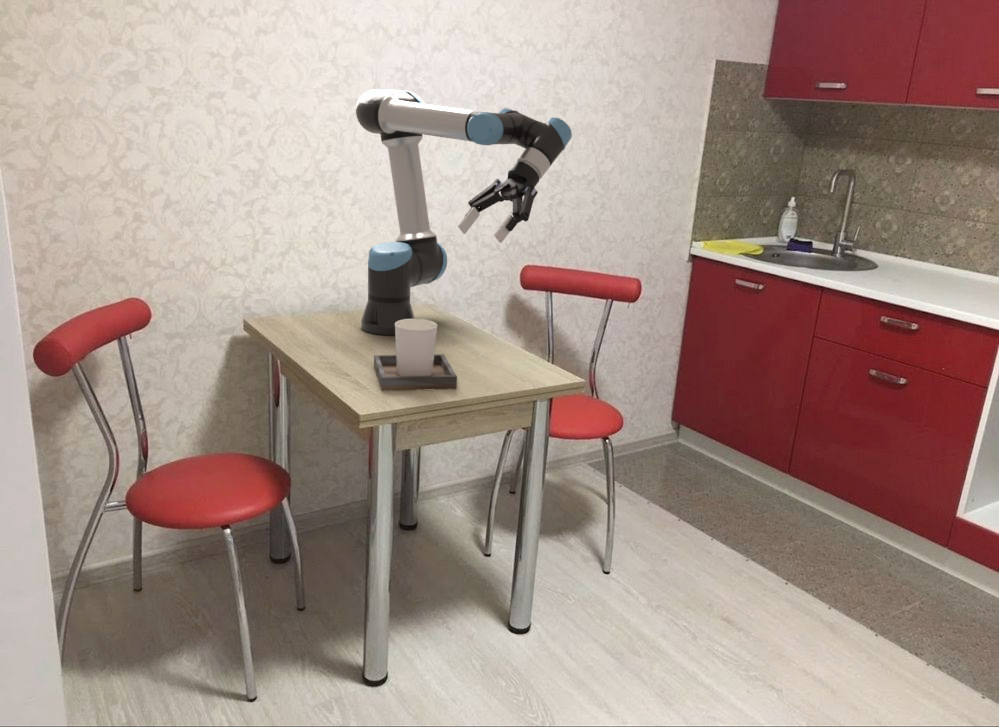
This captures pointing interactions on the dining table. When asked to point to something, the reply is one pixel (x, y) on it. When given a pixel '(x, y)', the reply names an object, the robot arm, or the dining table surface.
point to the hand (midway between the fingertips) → (478, 234)
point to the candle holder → (415, 347)
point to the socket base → (392, 381)
